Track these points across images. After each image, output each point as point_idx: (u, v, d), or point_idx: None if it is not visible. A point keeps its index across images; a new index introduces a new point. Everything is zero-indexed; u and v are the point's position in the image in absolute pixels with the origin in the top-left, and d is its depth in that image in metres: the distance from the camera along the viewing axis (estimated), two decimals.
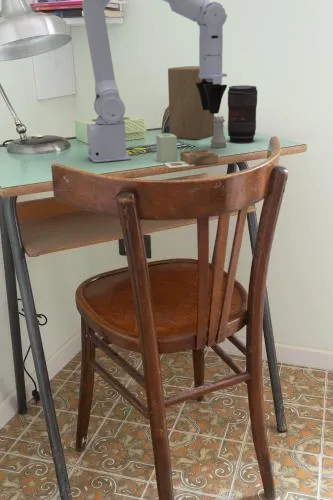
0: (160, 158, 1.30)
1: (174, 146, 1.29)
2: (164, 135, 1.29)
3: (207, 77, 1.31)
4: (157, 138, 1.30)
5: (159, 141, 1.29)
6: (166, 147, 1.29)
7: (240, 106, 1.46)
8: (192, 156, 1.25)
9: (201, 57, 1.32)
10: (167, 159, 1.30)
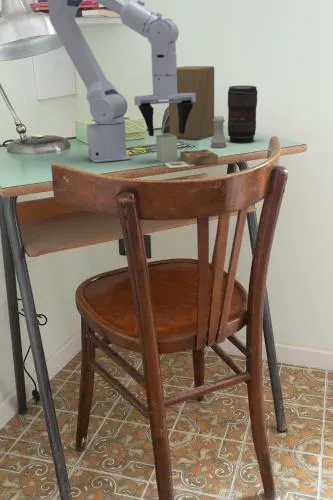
0: (160, 158, 1.30)
1: (174, 146, 1.29)
2: (164, 135, 1.29)
3: None
4: (157, 138, 1.30)
5: (158, 141, 1.29)
6: (166, 147, 1.29)
7: (240, 106, 1.46)
8: (192, 156, 1.25)
9: None
10: (167, 159, 1.30)
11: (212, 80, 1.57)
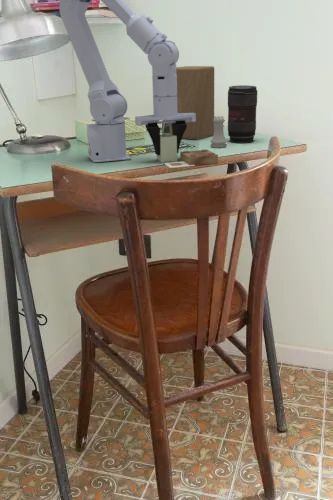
0: (160, 158, 1.30)
1: (174, 146, 1.29)
2: (164, 135, 1.29)
3: None
4: None
5: None
6: (166, 147, 1.29)
7: (240, 106, 1.46)
8: (192, 156, 1.25)
9: None
10: (167, 158, 1.30)
11: (212, 80, 1.57)
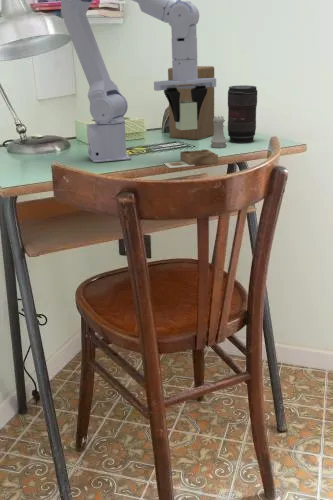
0: (180, 125, 1.25)
1: (194, 113, 1.25)
2: (184, 101, 1.24)
3: None
4: None
5: None
6: (186, 114, 1.24)
7: (240, 106, 1.46)
8: (192, 156, 1.25)
9: None
10: (187, 126, 1.25)
11: None
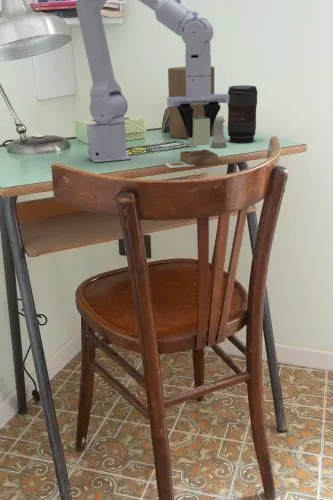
0: (193, 141, 1.25)
1: (207, 128, 1.25)
2: (197, 117, 1.25)
3: None
4: None
5: None
6: (198, 129, 1.24)
7: (240, 106, 1.46)
8: (192, 156, 1.25)
9: None
10: (199, 142, 1.25)
11: (212, 80, 1.57)
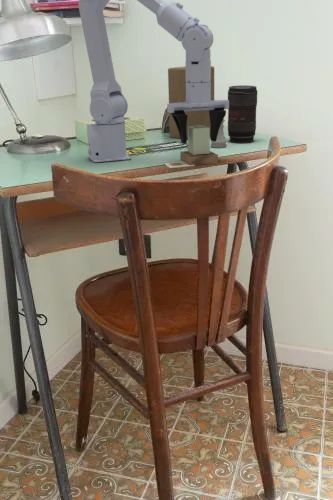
0: (192, 150, 1.26)
1: (207, 137, 1.26)
2: (196, 126, 1.25)
3: None
4: (189, 129, 1.27)
5: (191, 132, 1.26)
6: (198, 138, 1.25)
7: (240, 106, 1.46)
8: (192, 156, 1.25)
9: None
10: (199, 151, 1.26)
11: (212, 80, 1.57)
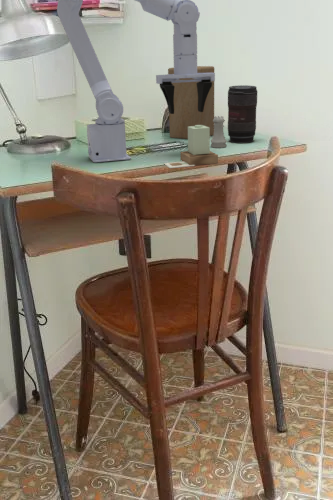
0: (192, 150, 1.26)
1: (207, 137, 1.26)
2: (196, 126, 1.25)
3: None
4: (189, 129, 1.27)
5: (191, 132, 1.26)
6: (198, 138, 1.25)
7: (240, 106, 1.46)
8: (192, 156, 1.25)
9: None
10: (199, 151, 1.26)
11: None
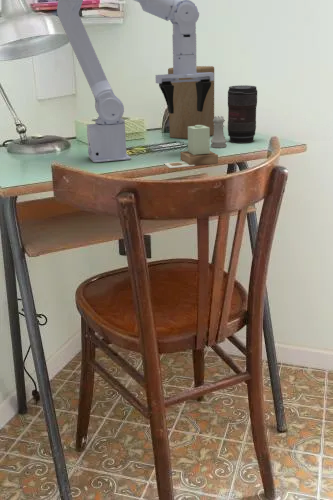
0: (192, 150, 1.26)
1: (207, 137, 1.26)
2: (196, 126, 1.25)
3: None
4: (189, 129, 1.27)
5: (191, 132, 1.26)
6: (198, 138, 1.25)
7: (240, 106, 1.46)
8: (192, 156, 1.25)
9: None
10: (199, 151, 1.26)
11: None
